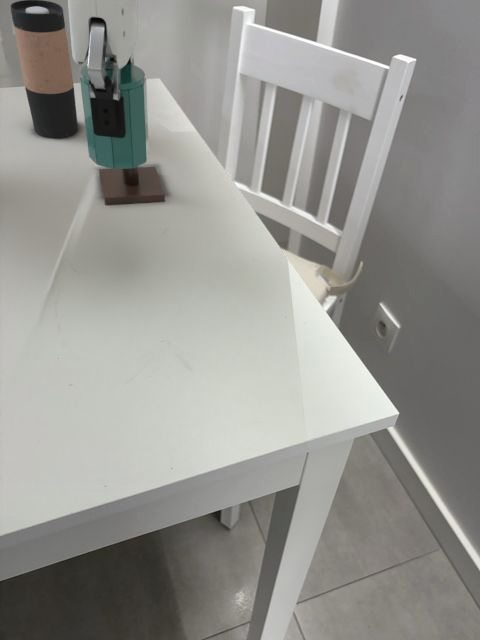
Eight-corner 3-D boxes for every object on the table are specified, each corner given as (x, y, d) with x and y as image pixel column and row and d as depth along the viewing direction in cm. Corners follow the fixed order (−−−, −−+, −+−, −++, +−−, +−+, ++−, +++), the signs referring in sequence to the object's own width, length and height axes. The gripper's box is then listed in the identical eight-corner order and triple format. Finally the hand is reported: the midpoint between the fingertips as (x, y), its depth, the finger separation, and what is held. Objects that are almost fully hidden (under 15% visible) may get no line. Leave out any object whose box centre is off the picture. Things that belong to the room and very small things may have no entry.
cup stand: (105, 205, 83) (99, 156, 77) (99, 175, 89) (94, 128, 83) (164, 201, 85) (163, 154, 80) (155, 173, 91) (153, 127, 86)
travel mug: (27, 131, 97) (0, 1, 83) (68, 123, 101) (49, -3, 86) (46, 149, 93) (22, 16, 79) (88, 140, 97) (72, 11, 83)
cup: (84, 166, 60) (73, 80, 54) (96, 139, 65) (88, 57, 58) (143, 172, 60) (140, 87, 54) (151, 145, 65) (148, 64, 59)
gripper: (78, -105, 53) (97, 87, 66) (26, -75, 41) (61, 153, 53) (157, -94, 54) (160, 94, 66) (129, -61, 41) (139, 161, 54)
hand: (116, 119), depth 60 cm, fingers closed on cup, 6 cm apart
